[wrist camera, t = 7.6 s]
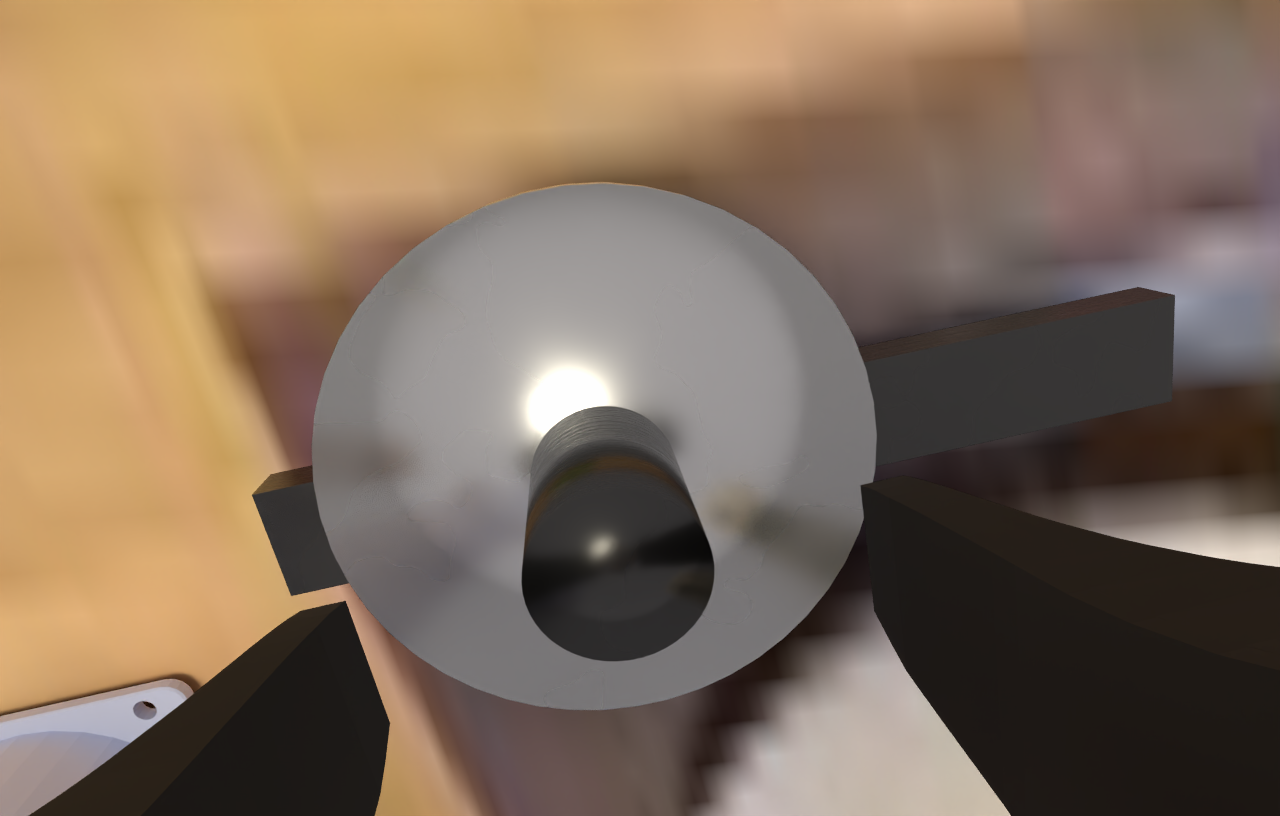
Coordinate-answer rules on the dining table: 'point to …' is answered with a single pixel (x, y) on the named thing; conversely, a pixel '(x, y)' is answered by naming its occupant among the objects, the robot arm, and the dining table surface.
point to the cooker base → (905, 398)
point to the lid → (593, 446)
